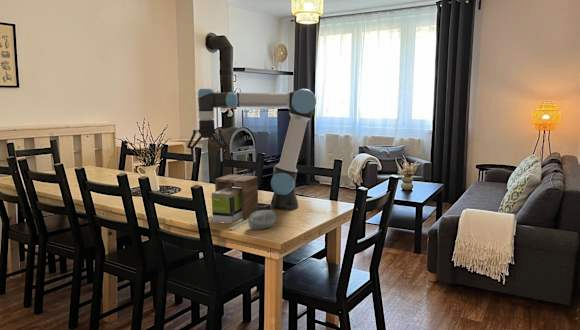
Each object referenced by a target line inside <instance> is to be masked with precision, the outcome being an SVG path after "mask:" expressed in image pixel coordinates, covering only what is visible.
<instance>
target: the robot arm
mask: <svg viewBox="0 0 580 330" xmlns="http://www.w3.org/2000/svg"><path fill="white" fill-rule="evenodd" d="M197 94H198V97H197V101H198V102H197V103H198V104H197V105H198V119H199V121H198V126H199V127H198V129H192V135H191V137H190V139H189V141H188V144H187V146H186V148H187V149H190V155H191V156H193V163H196V149H195V147H196V146H197V144H198V143H199V142H200V141H201V140H202V138H203V139H211V138H213V140H214V141H215V142H216V143H217V144H218V145H219V146H220V162H223V155H225V148H228V143H227V141H226V140H225V138H224V135H223V134H222V129H220V128H218V129H215V120H214V119H215V110H214V109H217V108H220V109H221V108H222V109H224V108H225V109H226V108H227V109H231V108H277V109H278V108H280V109H281V108H282V109H283V108H285V109H286V108H287V109H288V110H289V111H288V114H289V116H290V120H289V124H288V127H287V131H286V135H285V138H284V143H283V147H282V151H281V155H280V158H279V159H280V160H279V162H278V163H277V164H275V165H273V169H272V170H273V174H272V178H271V180H270V186H271V190H273V194H272V197H271V201H270V204H271V209H272V210H278V211H290V210H291V211H292V210H296V209H298V208H299V200H298V198H297V195H296V180H297V174H298V172H299V171H298V168H297V163H298V159H299V156H300V151H301V148H302V144H303V140H304V137H305V133H306V128H307V126H308V125H307V124H308V122H309V121H310V120H312V118H313V114H314V110H315V107H316V104H317V97H316V95H315V93H314V92H313V91H312V90H311V89H308V88H300V89H298V90H290V91H288V92H232V91H229V92H226V91H225V92H214V89H213V88H199V89H198V93H197ZM198 133H199V137H198V138H197V139H196V140H195V142H194V143H193V141H194V138H195V137H196V135H197V134H198ZM215 133H216V134H218V135H219V137H220V138H221V141H222V142H221V141H220V140H219V139H218V138H217V137H216V136H215ZM192 143H193V144H192Z"/></svg>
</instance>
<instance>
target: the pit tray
mask: <svg viewBox="0 0 580 330" xmlns="http://www.w3.org/2000/svg"><path fill="white" fill-rule="evenodd" d="M271 209H272V208H271V203H263V202H262V203H261V202H258V211H260V210H271Z"/></svg>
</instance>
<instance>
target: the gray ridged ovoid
mask: <svg viewBox="0 0 580 330" xmlns="http://www.w3.org/2000/svg"><path fill="white" fill-rule="evenodd" d="M248 220H249V221H248V222H247V223H248V227H249V228H250V229H251V230H253V231H258V230H264V229H267V228H270V227H272V226H274V225H275V223H276V221H277V214H276V213H275V211H274V210H273V209H272V210H260V211H256V212H254V213H252V214H251V215H250V217H249V218H248Z"/></svg>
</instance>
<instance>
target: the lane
mask: <svg viewBox="0 0 580 330" xmlns="http://www.w3.org/2000/svg"><path fill="white" fill-rule="evenodd" d="M208 216H209V219H211V218H213V217H212V216H213V215H208ZM210 217H211V218H210ZM248 221H249V219H246V220H242V221H241V222H239V223H238V224H236V225H234V226H232V227H230V228H229V229H234V228H236V227H238V226H240V225H242V224H244V223H245V224H247V223H248ZM191 224H195V223H193V222H191V223H190V225H191ZM245 224H244V225H245ZM195 225H196V224H195ZM242 226H243V225H242ZM240 227H241V226H240ZM238 228H239V227H238ZM236 229H237V228H236ZM234 230H235V229H234Z"/></svg>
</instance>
